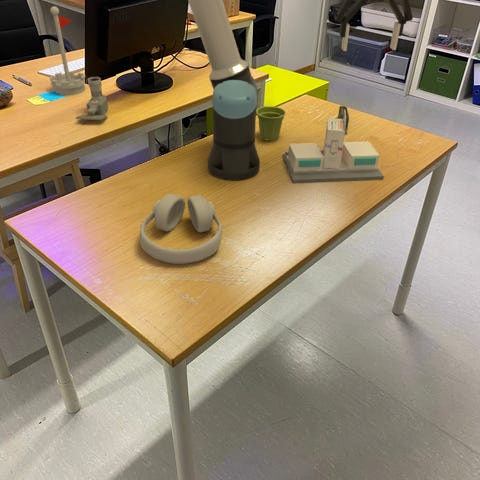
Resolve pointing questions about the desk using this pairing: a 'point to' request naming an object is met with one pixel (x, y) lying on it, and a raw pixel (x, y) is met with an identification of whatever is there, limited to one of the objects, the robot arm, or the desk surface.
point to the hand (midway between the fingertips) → (368, 49)
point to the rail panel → (311, 168)
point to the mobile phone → (341, 116)
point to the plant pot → (270, 122)
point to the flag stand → (65, 64)
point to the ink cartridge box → (334, 142)
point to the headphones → (167, 219)
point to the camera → (95, 101)
